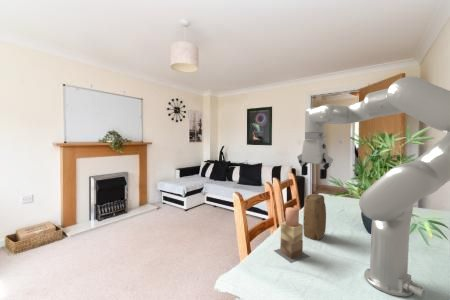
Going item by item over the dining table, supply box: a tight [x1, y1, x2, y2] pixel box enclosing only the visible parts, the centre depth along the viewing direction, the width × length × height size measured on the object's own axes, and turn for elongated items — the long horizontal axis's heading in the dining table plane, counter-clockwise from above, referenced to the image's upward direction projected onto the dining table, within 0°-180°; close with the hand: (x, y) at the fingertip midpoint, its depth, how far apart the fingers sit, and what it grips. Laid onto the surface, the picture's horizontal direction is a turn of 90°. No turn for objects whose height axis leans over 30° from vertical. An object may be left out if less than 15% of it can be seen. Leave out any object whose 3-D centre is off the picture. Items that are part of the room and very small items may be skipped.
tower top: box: [280, 221, 304, 244], centre depth 85 cm, size 6×6×6 cm
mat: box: [273, 248, 311, 264], centre depth 86 cm, size 10×10×1 cm
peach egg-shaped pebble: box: [285, 207, 300, 227], centre depth 85 cm, size 5×5×6 cm
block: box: [302, 193, 327, 241], centre depth 102 cm, size 11×8×20 cm
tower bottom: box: [279, 237, 304, 259], centre depth 86 cm, size 6×6×6 cm
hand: (313, 176), depth 91 cm, fingers open, 9 cm apart
